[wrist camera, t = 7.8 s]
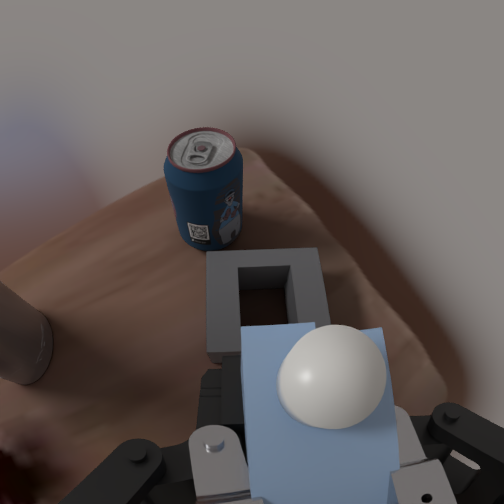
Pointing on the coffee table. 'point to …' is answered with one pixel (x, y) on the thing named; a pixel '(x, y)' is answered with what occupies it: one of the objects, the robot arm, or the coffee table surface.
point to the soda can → (205, 187)
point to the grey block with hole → (260, 277)
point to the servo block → (318, 414)
